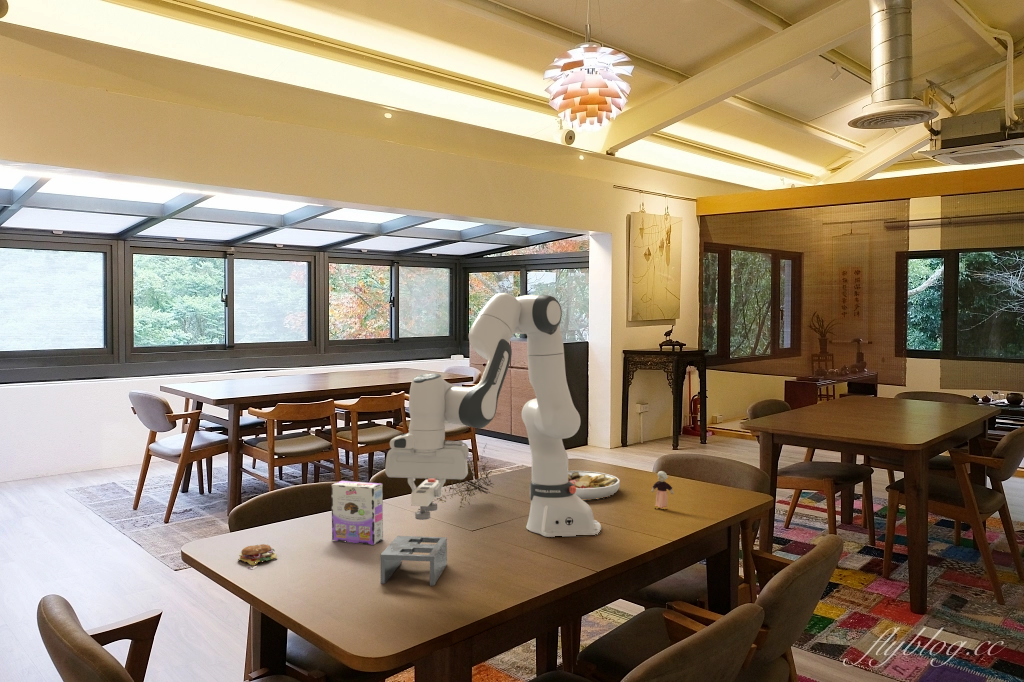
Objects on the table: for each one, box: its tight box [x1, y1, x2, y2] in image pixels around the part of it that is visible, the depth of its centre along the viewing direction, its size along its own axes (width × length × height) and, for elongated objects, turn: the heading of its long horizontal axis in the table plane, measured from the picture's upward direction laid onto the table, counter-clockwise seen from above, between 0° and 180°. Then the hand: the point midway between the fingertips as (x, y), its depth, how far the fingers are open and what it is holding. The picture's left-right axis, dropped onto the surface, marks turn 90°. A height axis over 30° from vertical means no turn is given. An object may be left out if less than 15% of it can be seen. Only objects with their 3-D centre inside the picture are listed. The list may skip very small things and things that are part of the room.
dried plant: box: [401, 433, 495, 511], centre depth 228 cm, size 30×31×45 cm
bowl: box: [568, 470, 621, 499], centre depth 260 cm, size 30×30×8 cm
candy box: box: [330, 480, 384, 546], centre depth 202 cm, size 14×6×16 cm, turn 71°
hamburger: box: [237, 543, 278, 569], centre depth 185 cm, size 14×14×6 cm
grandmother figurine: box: [650, 470, 675, 509], centre depth 236 cm, size 8×4×13 cm, turn 68°
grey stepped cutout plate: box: [380, 535, 448, 587], centre depth 176 cm, size 13×15×7 cm
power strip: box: [410, 478, 441, 521], centre depth 175 cm, size 4×15×7 cm, turn 174°
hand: (426, 495), depth 175 cm, fingers closed on power strip, 4 cm apart
